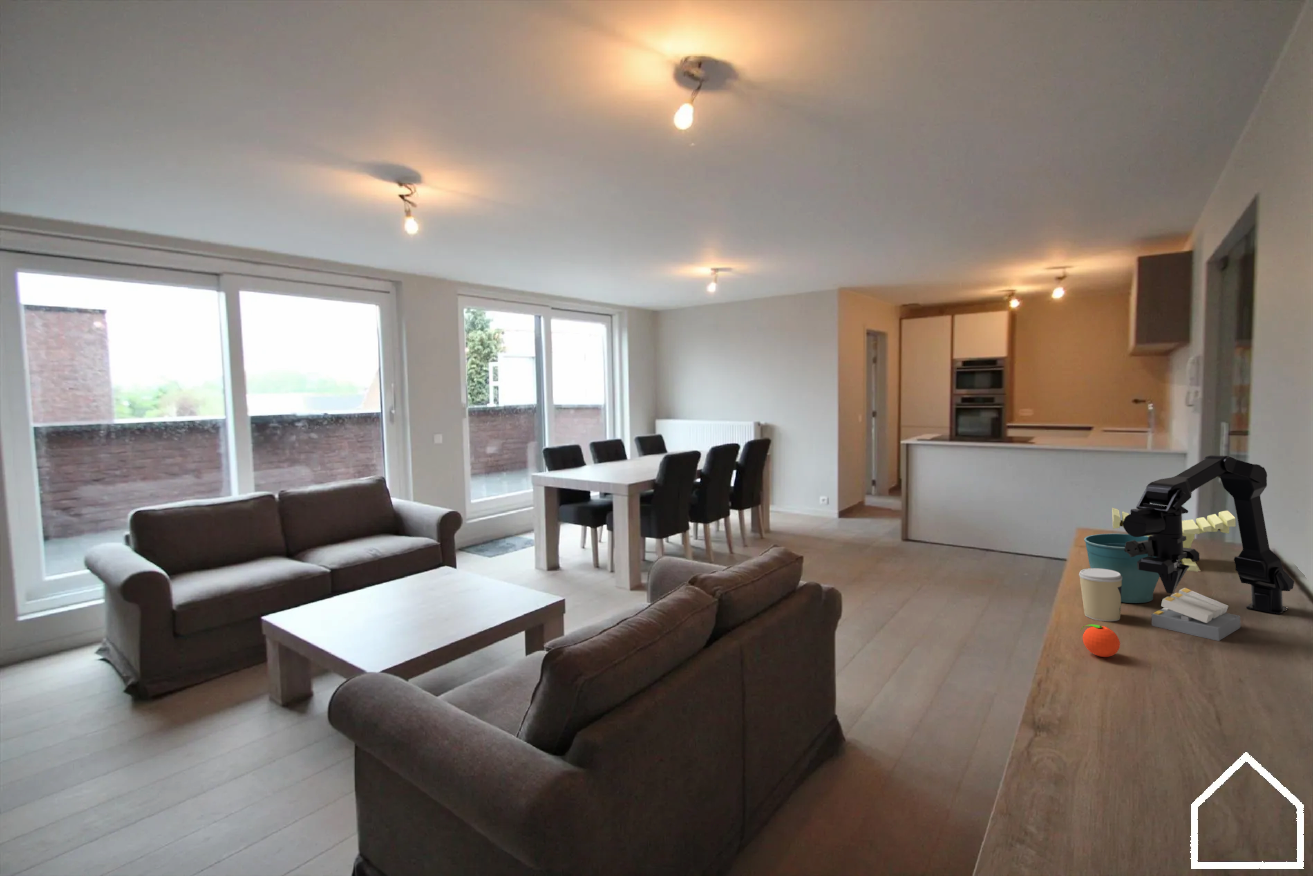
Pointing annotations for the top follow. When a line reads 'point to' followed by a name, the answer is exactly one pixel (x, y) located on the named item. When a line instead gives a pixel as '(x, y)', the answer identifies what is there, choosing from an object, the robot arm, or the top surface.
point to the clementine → (1101, 640)
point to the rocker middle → (1198, 604)
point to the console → (1196, 624)
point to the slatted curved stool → (1191, 529)
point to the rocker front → (1187, 609)
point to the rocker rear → (1204, 599)
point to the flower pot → (1122, 565)
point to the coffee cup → (1101, 593)
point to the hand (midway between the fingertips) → (1170, 593)
